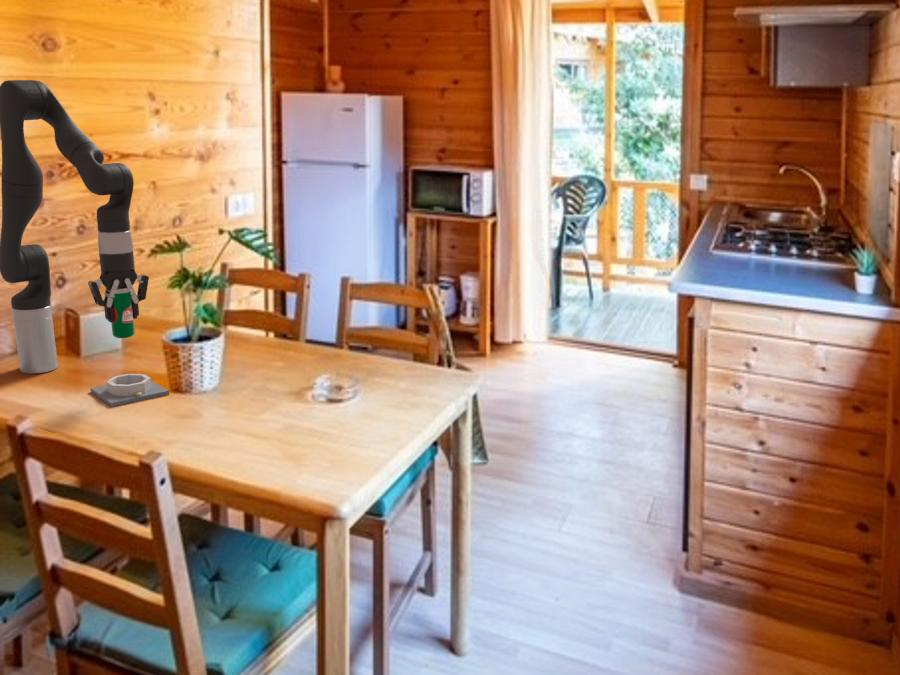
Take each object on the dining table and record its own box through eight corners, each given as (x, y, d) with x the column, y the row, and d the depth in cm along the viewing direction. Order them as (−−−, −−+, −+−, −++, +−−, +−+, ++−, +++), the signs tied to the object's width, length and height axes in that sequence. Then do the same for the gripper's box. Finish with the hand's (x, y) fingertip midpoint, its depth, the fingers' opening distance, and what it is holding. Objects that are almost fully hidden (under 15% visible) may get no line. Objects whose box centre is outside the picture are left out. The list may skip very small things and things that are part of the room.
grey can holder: (90, 392, 211) (89, 378, 210) (146, 380, 220) (145, 367, 219) (111, 406, 201) (110, 392, 200) (169, 394, 210) (168, 381, 209)
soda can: (127, 339, 204) (123, 290, 200) (108, 338, 205) (103, 288, 201) (139, 334, 208) (134, 285, 205) (120, 332, 209) (115, 284, 206)
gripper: (139, 245, 208) (145, 312, 213) (79, 250, 199) (86, 321, 204) (152, 249, 203) (157, 318, 207) (90, 255, 194) (97, 327, 198)
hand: (122, 319), depth 206 cm, fingers closed on soda can, 5 cm apart
